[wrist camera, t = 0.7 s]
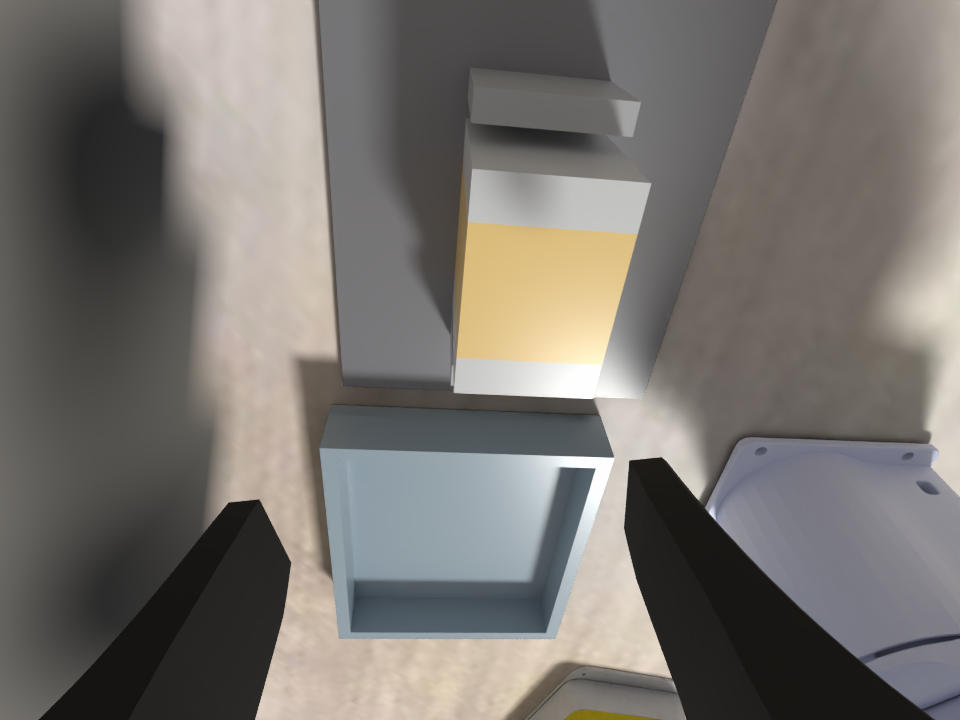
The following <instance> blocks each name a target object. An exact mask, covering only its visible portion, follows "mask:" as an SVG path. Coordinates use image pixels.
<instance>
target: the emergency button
mask: <svg viewBox="0 0 960 720" xmlns="http://www.w3.org/2000/svg"><path fill="white" fill-rule="evenodd" d="M525 720H685V715H684V711H683V707H682V704H681V701H680V698H679V695H678V693H677V690H676V687H675V684H674V682H673V679H667V678H661V677H655V676H648V675H642V674H636V673H630V672H624V671H618V670H611V669H605V668H599V667H593V666H584V667H581V668H577V669H576V670H574V671H573V672H571V673H570V674H569V675H568V676H567V677H566V678H565V679H564V680H563V681H562V682H561V683H560V684H559V685H558V686H557V687H556V688H555V689H554V690H553V691H552V692H551V693H550V694H549V695H548V696H547V698H546V699H545V700H544V701H543V702H542V703H541V704H540V705H539V706H538V707H537V708H536V709H535V710H534V711H533V712H532V713H531V714H530V715H529V716H528V717H527V718H526V719H525Z"/></svg>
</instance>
